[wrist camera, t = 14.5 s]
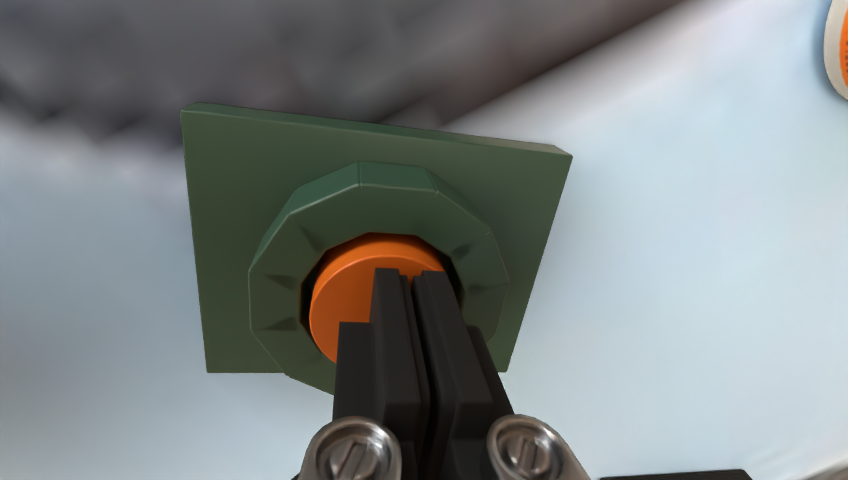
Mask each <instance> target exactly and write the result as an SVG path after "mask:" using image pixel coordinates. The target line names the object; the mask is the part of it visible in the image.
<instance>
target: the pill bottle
mask: <svg viewBox="0 0 848 480" xmlns="http://www.w3.org/2000/svg"><path fill="white" fill-rule="evenodd" d="M824 62H825V67H826V71H827V74H828V77H829V80H830V82H831V83H832V85H833V87H834V88H835V89H836V91H837V92H838V93H839V94H840V95H841V96H843V97H844V98H845V99H847V100H848V0H833V1H832V4H831V6H830V10H829V14H828V17H827V22H826V27H825V35H824Z"/></svg>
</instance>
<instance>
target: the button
mask: <svg viewBox="0 0 848 480" xmlns="http://www.w3.org/2000/svg"><path fill="white" fill-rule="evenodd" d="M375 267H378V268H395V269H399V274H400V275H407V277H408V282H409V287H410V291H411V285H412V279H413V276H421V272H422V271H423V270H430V271H445V268H444V266H443V263H442V261H441V258H440V256H439V254H438V252H437V251H436V250H435V248H434V247H433V246H432V245H430V244H429V243H427V242H426V241H424V240H423V239H421V238H420V237H418V236H416V235H406V234H391V233H377V232H368V233H365V234H363V235H361V236H358V237H356V238H354V239H351V240H349V241H347V242H344V243H342V244H340V245H337V246H335V247H333V248H330V249H328V250H326V252H325V253H324V255H323V256H322V258H321V260H320V262H319V264H318V267H317V270H316V275H315V281H314V288H313V294H312V301H311V307H310V315H309V322H310V329H311V333H312V336H313V338H314V340H315V342H316V344H317V345H318V347H319V349H320V350H321V351H322V352H323V353H324V354H325V355H326V356H327V357H328V358H329V359H330V360H332V361H333V362H334V363H336V361H337V347H338V333H339V321H340V322H369V316H370V307H371V298H372V289H373V280H374V271H375ZM445 272H446V271H445ZM451 287H452V286H451ZM453 292H454V291H453ZM454 295H455V294H454ZM455 298H456V297H455Z"/></svg>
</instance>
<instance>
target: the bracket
mask: <svg viewBox="0 0 848 480" xmlns="http://www.w3.org/2000/svg"><path fill="white" fill-rule="evenodd" d="M601 480H752V478H751V477H750V476H749V475H748V474H747V473H746V472H745V471H744V470H737V471H721V472H705V473H689V474H672V475H656V476H640V477H624V478H608V479H601Z"/></svg>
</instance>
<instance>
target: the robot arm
mask: <svg viewBox="0 0 848 480" xmlns="http://www.w3.org/2000/svg"><path fill="white" fill-rule="evenodd" d="M291 480H591V479H590V478H589V476H588V475H587V473H586V472H585V470H584V469H583V467H582V466H581V464H580V463H579V461H578V460H577V458H576V457H575V455H574V453H573V452H572V450H571V449H570V447H569V446H568V444H567V443H566V442H565V441H564V439H563V438H562V437H561V436H560V435H559V433H558V432H556V431H555V430H554V429H553V428H551V427H550V426H549V425H548V424H546V423H544V422H542V421H540V420H538V419H536V418H534V417H530V416H526V415H522V414H514V411H513V409H512V407H511V404H510V402H509V399H508V397H507V394H506V392H505V389H504V387H503V385H502V382H501V380H500V377H499V375H498V372H497V370H496V367H495V365H494V363H493V360H492V358H491V355H490V353H489V350H488V348H487V345H486V343H485V341H484V338H483V336H482V333H481V331H480V329H479V328H478V327H477V326H466V325H465V322H464V320H463V317H462V314H461V311H460V309H459V306H458V303H457V300H456V298H455V295H454V292H453V289H452V287H451V284H450V281H449V278H448V276H447V273H446V272H445V271H430V270H423V271H422V272H421V276H413V279H412V285H411V291H410V287H409V282H408V277H407V275H400V274H399V269H395V268H378V267H375V271H374V280H373V289H372V298H371V307H370V316H369V322H340V321H339V333H338V347H337V361H336V375H335V389H334V403H333V417H332V422H330V423H328V424H327V425H325V426H323V427H322V428H321V429H320V430H319V431H318V432H317V433H316V434H315V435H314V436H313V438H312V440H311V442H310V444H309V446H308V448H307V450H306V453H305V457H304V460H303V463H302V467H301V470H300V473H299V474H297V475H296V476H295V477H294V478H293V479H291Z"/></svg>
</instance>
